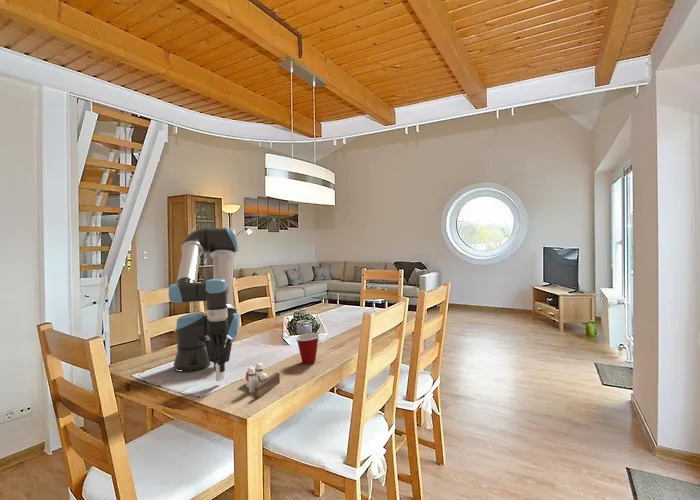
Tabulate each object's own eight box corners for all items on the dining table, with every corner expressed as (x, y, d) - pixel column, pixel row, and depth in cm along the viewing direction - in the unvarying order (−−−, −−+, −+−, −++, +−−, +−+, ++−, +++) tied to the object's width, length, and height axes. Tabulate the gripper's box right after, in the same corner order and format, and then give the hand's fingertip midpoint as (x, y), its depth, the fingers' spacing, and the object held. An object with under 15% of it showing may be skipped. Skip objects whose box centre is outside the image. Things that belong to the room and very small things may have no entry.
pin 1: (247, 392, 143) (246, 369, 142) (251, 389, 145) (250, 367, 145) (253, 393, 142) (252, 369, 142) (257, 390, 144) (256, 367, 144)
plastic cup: (296, 359, 180) (295, 333, 180) (320, 357, 181) (319, 332, 181) (295, 366, 169) (294, 339, 169) (320, 365, 170) (319, 338, 170)
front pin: (244, 383, 146) (261, 374, 143) (248, 381, 148) (265, 371, 146) (247, 389, 146) (265, 380, 143) (251, 386, 148) (268, 377, 145)
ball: (258, 387, 148) (243, 381, 147) (257, 385, 154) (243, 379, 153) (264, 372, 150) (250, 366, 149) (263, 370, 155) (249, 364, 154)
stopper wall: (254, 398, 137) (254, 387, 137) (276, 382, 152) (275, 372, 151) (258, 398, 137) (258, 387, 137) (279, 383, 151) (279, 372, 151)
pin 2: (255, 387, 147) (254, 364, 147) (258, 384, 150) (258, 362, 150) (260, 387, 147) (260, 365, 146) (264, 385, 149) (263, 363, 149)
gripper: (196, 320, 149) (199, 381, 150) (225, 322, 144) (228, 385, 145) (209, 316, 156) (212, 374, 157) (237, 318, 151) (240, 377, 152)
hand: (219, 379), depth 151 cm, fingers closed
